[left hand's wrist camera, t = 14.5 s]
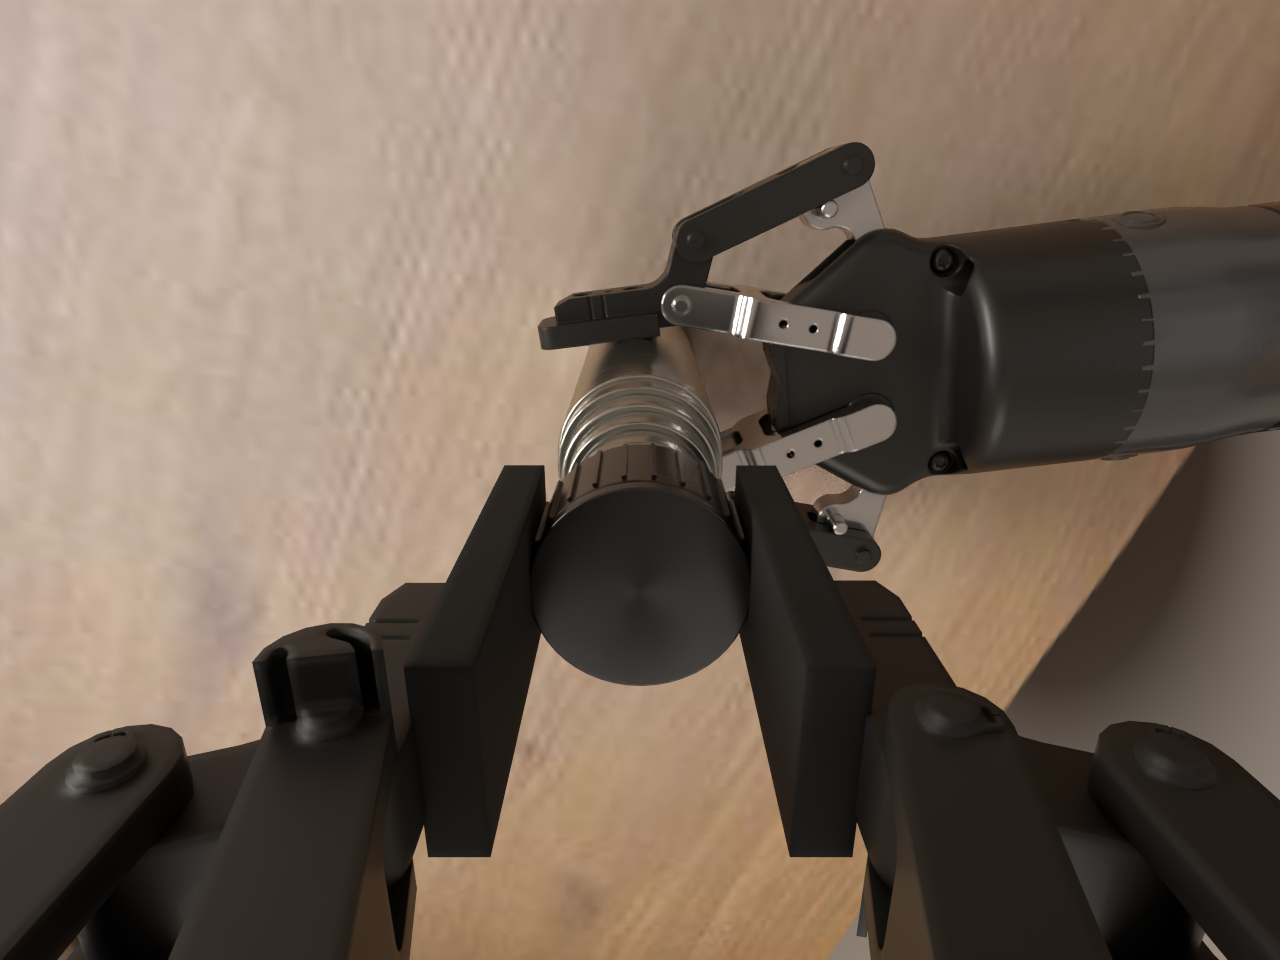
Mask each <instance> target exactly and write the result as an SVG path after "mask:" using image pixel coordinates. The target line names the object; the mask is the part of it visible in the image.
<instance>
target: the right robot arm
mask: <svg viewBox="0 0 1280 960" xmlns="http://www.w3.org/2000/svg"><path fill="white" fill-rule="evenodd" d="M874 167H875V160H874V156H873V153H872V151H871V150H870V149H869V148H868V147H867V146H866V145H864V144H862V143H858V142H853V143H848V144H843V145H839V146H835V147H832V148H828V149H826V150H824V151H822V152H820V153H817V154H815V155H813V156H811V157H809V158H807V159H805V160H803V161H801V162H799V163H797V164H795V165H793V166H791V167H789V168H786V169H784V170H782V171H780V172H778V173H776V174H774V175H772V176H770V177H768V178H766V179H764V180H762V181H760V182H757V183H755V184H753V185H751V186H749V187H747V188H745V189H743V190H741V191H739V192H737V193H735V194H733V195H731V196H729V197H726V198H724V199H722V200H720V201H718V202H716V203H714V204H712V205H710V206H708V207H706V208H704V209H702V210H700V211H698V212H695V213H693V214H691V215H689V216H687V217H685V218H683V219H681V220H680V221H679V222H678V223H677V224H676V225H675V227H674V229H673V233H672V245H671V249H670V254H669V258H668V262H667V266H666V269H665V271H664V272H663V274H662V275H661V276H660V277H659V278H658V279H657V280H655V281H654V282H652V283H649V284H643V285H635V286H627V287H619V288H612V289H605V290H596V291H588V292H580V293H573V294H571V295H569V296H568V297H566V298H564V299H563V300H561V301H559V302H558V303H557V305H556V306H555V307H554V310H555V317H550V318H546V319H543V320H542V321H541V323H540V324H539V325H538V331H539V337H540V343H541V349H544V350H553V349H561V348H569V347H577V346H585V345H594V344H602V343H610V342H618V341H624V340H630V339H642V338H650V337H658V336H660V328H664V327H672V326H682V327H688V328H694V329H701V330H707V331H713V332H719V333H725V334H731V335H735V336H737V337H740V338H743V339H748V340H753V341H759V342H763V350H764V353H765V356H766V359H767V361H768V364H769V367H770V370H771V376H770V381H769V385H768V390H767V395H766V396H767V409H765V410H762V411H760V412H757V413H755V414H752V415H750V416H747V417H745V418H743V419H741V420H739V421H738V422H737V423H736V424H735V425H734V426H733V427H731V428H729V429H727V430H725V431H722V432H720V435H721V441H722V458H723V470H722V477H721V480H722V482H723V485H724V489H725V491H726V493H727V495H728V497H729V499H730V500H732V499H733V500H735V491H731V490H734V489H735V479H736V465H776V467H777V469H778V471H779V473H780V475H781V477H784V476H786V475H789V474H791V473H794V472H796V471H799V470H802V469H804V468H807V467H809V466H812V465H814V464H815V465H817V466H819V467H821V468H823V469H825V470H827V471H828V472H830V473H832V474H834V475H836V476H838V477H839V478H841V479H843V480H845V481H847V482H849V483H850V484H852V485H851V487H850V488H849V489H848V490H846V491H845V492H843V493H840V494H826V495H823V496H821V497H820V498H818V499H817V500H816V501H815V503H814V504H813V505H809V504H804V503H798V502H795V504H796V506H797V508H798V510H799V512H800V514H801V516H802V518H803V520H804V522H805V524H806V526H807V528H808V530H809V532H810V534H811V536H812V538H813V540H814V542H815V544H816V546H817V548H818V550H819V552H820V554H821V556H822V558H823V560H824V562H825V564H826V566H828V567H834V568H840V569H846V570H852V571H858V572H864V571H868V570H871V569H872V568H874V567H875V566H876V565H877V564H878V562H879V561H880V558H881V550H880V548H879V546H878V545H877V543H876V542H875V540H874V538H873V537H874V533H875V530H876V527H877V524H878V521H879V518H880V515H881V512H882V509H883V505H884V502H885V499H886V496H887V495H890V494H894V493H897V492H899V491H901V490H903V489H904V488H906V487H907V486H909V485H910V484H912V483H914V482H916V481H918V480H920V479H922V478H925V477H928V476H933V475H955V474H971V473H980V472H988V471H997V470H1006V469H1014V468H1023V467H1032V466H1040V465H1049V464H1057V463H1067V462H1076V461H1084V460H1093V459H1101V460H1122V459H1128V458H1129V457H1133V456H1137V455H1138V454H1144V453H1153V452H1162V451H1169V450H1176V449H1182V448H1187V447H1191V446H1196V445H1200V444H1204V443H1209V442H1212V441H1216V440H1220V439H1224V438H1227V437H1232V436H1236V435H1242V434H1249V433H1254V432H1263V431H1272V430H1280V202H1272V203H1265V204H1257V205H1249V206H1241V207H1228V208H1213V207H1175V208H1161V209H1151V210H1143V211H1129V212H1124V213H1121V214H1113V215H1106V216H1098V217H1091V218H1083V219H1073V220H1065V221H1057V222H1049V223H1042V224H1034V225H1026V226H1019V227H1011V228H1003V229H995V230H988V231H980V232H972V233H964V234H957V235H949V236H941V237H933V238H915V237H912V236H909V235H907V234H905V233H903V232H901V231H898V230H895V229H886V228H885V227H884V224H883V221H882V218H881V215H880V212H879V209H878V206H877V203H876V200H875V197H874V194H873V190H872V187H871V184H870V181H869V179H870V178H871V176H872V174H873V171H874ZM797 216H799V219H800V220H801V222H802V223H803V224H804V225H805V226H807V227H809V228H812V229H817V230H827V229H830V228H835V227H837V228H839V229H841V230H842V231H843V232H844V233H845V234H846V236H847V238H848V239H847V240H846V241H845V242H844V243H843V244H842V245H841V246H839V247H838V248H837V249H836V250H835V251H834V252H833V253H832V254H831V255H829V256H828V257H827V258H826V259H825V260H824V261H823V262H822V263H821V264H819V265H818V266H817V267H816V268H815V269H814V270H813V271H812V272H811V273H809V274H808V275H807V276H806V277H805V278H804V279H803V280H802V281H800V282H799V283H798V284H797V285H796V286H795V287H794V288H793V289H792V290H790V291H789V292H788V293H784V292H778V291H772V290H766V289H760V288H754V287H748V286H741V285H727V284H721V283H715V282H709V281H707V278H708V274H709V270H710V266H711V262H712V258H713V256H715V255H717V254H719V253H721V252H723V251H725V250H727V249H730V248H732V247H734V246H736V245H738V244H740V243H742V242H744V241H747V240H749V239H751V238H753V237H755V236H757V235H759V234H761V233H763V232H766V231H768V230H770V229H772V228H774V227H776V226H778V225H780V224H783V223H785V222H787V221H789V220H791V219H793V218H795V217H797ZM772 426H773V427H772ZM789 451H791V452H790V453H788V452H789Z"/></svg>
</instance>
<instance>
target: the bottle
mask: <svg viewBox="0 0 1280 960" xmlns="http://www.w3.org/2000/svg"><path fill="white" fill-rule="evenodd" d="M624 443H628V445H632V444H649V445H650V443H655V445H657V446H663V447H667V448H670V449H673V450H677V449H680V450H681V453H683V454H686V455H688V456H690V457H691V458H693V459H695V460H696V461H698V462H700V461H702V462H703V463H704V465H705V467H706V468H707V469H708V470H709V471H710V472H711V473H712V474H713V475H714V476H715V477H716V478H717V479H719V478H720V479H721V477H722V470H723V458H722V441H721V435H720V432H719V428H718V425H717V422H716V419H715V416H714V413H713V410H712V407H711V404H710V401H709V398H708V395H707V392H706V389H705V386H704V383H703V380H702V377H701V375H700V372H699V369H698V366H697V363H696V360H695V357H694V354H693V351H692V348H691V345H690V342H689V339H688V337H687V335H686V333H685V331H684V329H683V328H682V326H672V327H664V328H660V336H658V337H650V338H642V339H630V340H624V341H618V342H610V343H602V344H594V345H590V347H589V350H588V353H587V356H586V359H585V362H584V365H583V368H582V371H581V374H580V377H579V380H578V383H577V385H576V388H575V391H574V394H573V397H572V400H571V403H570V406H569V409H568V412H567V415H566V418H565V421H564V424H563V427H562V430H561V434H560V439H559V446H558V472H559V479H560V481H562V480H563V479H564V478H565V477H566V476H567V475H568V473H569V472H570V471H572V470H573V469H574V465H575V464H576V463H577V462H578V463H579V464H580V463H581V462H583V461H584V460H586V459H588V458H589V457H591V456H593V455H595V454H597V451H599V450H602V451H604V450H607V449H610V448H614V447H618V446H623V444H624Z"/></svg>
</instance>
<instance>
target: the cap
mask: <svg viewBox="0 0 1280 960" xmlns="http://www.w3.org/2000/svg"><path fill="white" fill-rule="evenodd" d="M743 542H746V538H745V535H744V532H743V528H742V525H741V522H740V519H739V516H738V512H737V509H736V506H735V503H734V500H733V499H732V500H730V499H729V497H728V495H727V493H726V491H725V489H724V485H723V482H722V480H721V479H720V478H719V479H717V478H716V477H715V476H714V475H713V474H712V473H711V472H710V471H709V470H708V469H707V468H706V467H705V465H704V463H703V462H702V461H700V462H698V461H696V460H695V459H693V458H691V457H690V456H688V455H686V454H683V453H681V450H680V449H677V450H673V449H670V448H667V447H663V446H657V445H655V443H650V445H649V444H632V445H628V443H624V444H623V446H618V447H614V448H610V449H607V450H604V451H602V450H599V451H597V454H595V455H593V456H591V457H589V458H588V459H586V460H584V461H583V462H581V463H580V464H579V463H578V462H577V463H576V464H575V465H574V469H573V470H572V471H570V472H569V473H568V475H567V476H566V477H565V478H564V479H563V480H562V481H560V480H559V481H558V482H557V485H556V488H555V492H554V494H553V496H552V498H551V500H550V502H546V504H545V507H544V511H543V514H542V517H541V521H540V524H539V527H538V530H537V534H536V537H535V540H534V544H536V545H537V546H536V550H535V553H534V556H533V560H532V563H531V567H530V592H531V608H532V612H533V616H534V619H535V621H536V623H537V625H538V627H539V629H540V631H541V633H542V634H543V636H544V637H545V639H546V640H547V642H548V643H549V644H550V645H551V647H552V648H553V649H554V650H555V651H556V652H557V653H558V654H559V655H560V656H561V657H562V658H563V659H565V660H566V661H567V662H569V663H570V664H571V665H573V666H574V667H576V668H577V669H579V670H581V671H583V672H585V673H587V674H588V675H591V676H594V677H596V678H599V679H601V680H605V681H608V682H612V683H617V684H623V685H634V686H647V685H658V684H664V683H669V682H673V681H676V680H679V679H683V678H685V677H687V676H690V675H692V674H694V673H696V672H698V671H700V670H702V669H703V668H705V667H707V666H708V665H709V664H711V663H712V662H714V661H715V660H716V659H718V658H719V657H720V656H721V655H722V654H723V653H724V652H725V651H726V650H727V649H728V648H729V646H730V645H731V644H732V643H733V641H734V640H735V639H736V637H737V636H738V634H739V632H740V631H741V629H742V627H743V625H744V623H745V620H746V618H747V616H748V612H749V600H750V582H751V568H750V563H749V560H748V557H747V553H746V550H745V546H744V543H743Z"/></svg>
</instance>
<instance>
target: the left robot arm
mask: <svg viewBox="0 0 1280 960" xmlns="http://www.w3.org/2000/svg"><path fill="white" fill-rule="evenodd" d="M734 503H735V506H736V509H737V512H738V516H739V519H740V522H741V525H742V528H743V532H744V535H745V538H746V542H743V543H744V546H745V550H746V553H747V557H748V560H749V563H750V568H751V582H750V600H749V612H748V616H747V618H746V620H745V623H744V625H743V627H742V629H741V631H740V632H739V633H740V638H741V642H742V647H743V651H744V656H745V660H746V664H747V669H748V673H749V678H750V682H751V687H752V691H753V695H754V700H755V704H756V709H757V713H758V718H759V722H760V726H761V731H762V735H763V740H764V744H765V749H766V753H767V757H768V762H769V766H770V771H771V775H772V780H773V784H774V788H775V793H776V797H777V802H778V806H779V811H780V815H781V819H782V824H783V828H784V833H785V837H786V842H787V846H788V850H789V855H790V857H852V855H853V847H854V840H855V832H856V824H857V823H858V826H859V829H860V832H861V835H862V838H863V841H864V843H865V846H866V849H867V852H868V858H867V865H866V872H865V879H864V886H863V894H862V901H861V908H860V915H859V922H858V929H857V936H861V937H867V931H868V937H869V947H870V956H871V960H1219V959H1218V958H1217V957H1216V956H1215V955H1214V954H1213V953H1212V952H1211V951H1210V949H1209V948H1208V947H1207V946H1206V944H1205V943H1204V942H1203V941H1202V939H1203V936H1204V933H1206V934H1207V935H1208V937H1209V938H1210V939H1211V940H1212V941H1213V943H1214V944H1215V945H1216V946H1217V947H1218V949H1219V950H1220V951H1221V952H1222V953H1223V955H1224V956H1225V957H1226V958H1227V960H1280V800H1279V799H1278V798H1277V797H1276V796H1274V795H1273V794H1272V793H1271V792H1270V791H1269V790H1268V789H1267V788H1265V787H1264V786H1263V785H1262V784H1261V783H1260V782H1259V781H1257V780H1256V779H1255V778H1254V777H1253V776H1252V775H1251V774H1249V773H1248V772H1247V771H1246V770H1245V769H1244V768H1243V767H1242V766H1240V765H1239V764H1238V763H1237V762H1236V761H1235V760H1233V759H1232V758H1230V757H1229V756H1228V755H1226V754H1225V753H1223V752H1222V751H1221V750H1219V749H1218V748H1216V747H1215V746H1213V745H1212V744H1210V743H1208V742H1206V741H1204V740H1202V739H1199V738H1197V737H1195V736H1193V735H1191V734H1189V733H1187V732H1185V731H1182V730H1179V729H1176V728H1173V727H1168V726H1165V725H1161V724H1157V723H1148V722H1136V721H1127V722H1122V723H1117V724H1112V725H1109V726H1108V727H1107V728H1106V729H1105V730H1104V731H1103V732H1101V733H1100V734H1099V738H1098V742H1097V746H1096V749H1095V753H1090V752H1085V751H1080V750H1076V749H1071V748H1066V747H1061V746H1057V745H1052V744H1047V743H1042V742H1039V741H1035V740H1031V739H1028V738H1024V737H1021V736H1019V735H1018V734H1017V732H1016V729H1015V727H1014V725H1013V724H1012V722H1011V721H1010V719H1009V718H1008V717H1007V715H1006V714H1005V713H1004V711H1003V710H1001V709H1000V708H999V707H997V706H996V705H995V704H993V703H992V702H990V701H989V700H988V699H986V698H985V697H983V696H980V695H978V694H976V693H973V692H971V691H969V690H966V689H964V688H960V687H957V686H956V685H955V683H954V682H953V680H952V679H951V677H950V675H949V674H948V672H947V671H946V669H945V668H944V666H943V665H942V663H941V661H940V660H939V658H938V657H937V655H936V654H935V652H934V651H933V649H932V647H931V646H930V644H929V643H928V641H927V640H926V638H925V637H922V632H921V630H920V629H919V627H918V626H917V624H916V623H915V621H912V616H911V615H910V613H909V612H908V610H907V609H906V607H905V606H904V604H903V602H902V601H901V599H900V598H899V597H898V596H897V595H895V594H894V593H892V592H891V591H889V590H888V589H886V588H885V587H884V586H882V585H881V584H879V583H878V582H876V581H834V580H833V578H832V576H831V574H830V572H829V570H828V568H827V566H826V564H825V562H824V560H823V558H822V556H821V554H820V552H819V550H818V548H817V546H816V544H815V542H814V540H813V538H812V536H811V534H810V532H809V530H808V528H807V526H806V524H805V522H804V520H803V518H802V516H801V514H800V512H799V510H798V508H797V506H796V504H795V502H794V500H793V498H792V496H791V494H790V492H789V490H788V488H787V486H786V484H785V483H784V481H783V479H782V477H781V475H780V473H779V471H778V469H777V467H776V465H736V479H735V500H734ZM545 504H546V491H545V470H544V465H504V467H503V469H502V471H501V473H500V475H499V477H498V479H497V481H496V483H495V485H494V487H493V489H492V491H491V493H490V495H489V497H488V499H487V501H486V503H485V505H484V507H483V509H482V511H481V513H480V515H479V517H478V519H477V521H476V523H475V525H474V527H473V529H472V531H471V533H470V535H469V537H468V539H467V541H466V543H465V545H464V547H463V549H462V551H461V553H460V555H459V557H458V559H457V561H456V563H455V565H454V567H453V569H452V571H451V573H450V575H449V577H448V579H447V581H446V583H405V584H404V585H402V586H401V587H399V588H398V589H396V590H395V591H393V592H392V593H391V594H389V595H388V596H386V597H385V598H383V599H382V600H381V601H380V603H379V605H378V606H377V608H376V609H375V611H374V612H373V614H372V616H371V617H370V619H369V623H366V625H365V627H364V626H361V625H357V624H353V623H330V624H324V625H319V626H313V627H308V628H304V629H302V630H299V631H296V632H294V633H291V634H288V635H286V636H283V637H281V638H280V639H278V640H277V641H275V642H273V643H272V644H270V645H269V646H267V647H266V648H264V649H263V650H262V651H261V653H260V654H259V655H258V656H257V657H256V658H255V660H254V661H253V662H252V663H253V668H254V673H255V678H256V682H257V687H258V692H259V696H260V701H261V706H262V710H263V715H264V720H265V724H266V728H265V730H264V733H263V735H262V737H261V739H260V740H257V741H253V742H250V743H246V744H243V745H239V746H234V747H230V748H225V749H220V750H215V751H211V752H206V753H201V754H196V755H192V756H187V755H186V751H185V747H184V743H183V739H182V737H181V736H180V735H179V734H177V733H176V732H175V731H174V730H173V729H172V728H169V727H164V726H159V725H153V724H148V725H136V726H126V727H122V728H117V729H114V730H112V731H110V730H109V731H106V732H103V733H100V734H97V735H95V736H93V737H91V738H89V739H87V740H85V741H83V742H81V743H79V744H77V745H74V746H72V747H70V748H69V749H67V750H66V751H65V752H63V753H62V754H60V755H59V756H57V757H56V758H55V759H53V760H52V761H50V762H49V763H48V764H46V765H45V766H44V767H43V768H42V769H41V770H40V771H38V772H37V773H36V774H35V775H34V776H33V777H32V778H31V779H29V780H28V781H27V782H26V783H25V784H24V785H23V786H22V787H21V788H19V789H18V790H17V791H16V792H15V793H14V794H13V795H12V796H10V797H9V798H8V799H7V800H6V801H5V802H4V803H3V804H1V805H0V960H409V958H410V948H411V939H412V929H413V920H414V910H415V901H416V891H417V886H416V879H415V872H414V865H413V858H412V857H413V855H414V852H415V849H416V846H417V843H418V840H419V837H420V834H421V831H422V828H423V825H424V828H425V836H426V844H427V851H428V857H491V853H492V848H493V844H494V839H495V835H496V830H497V826H498V821H499V817H500V813H501V808H502V804H503V799H504V795H505V790H506V786H507V782H508V777H509V773H510V768H511V764H512V759H513V755H514V751H515V746H516V742H517V737H518V733H519V728H520V724H521V720H522V715H523V711H524V706H525V702H526V697H527V693H528V689H529V684H530V680H531V675H532V671H533V666H534V662H535V658H536V653H537V649H538V644H539V640H540V635H541V631H540V629H539V627H538V625H537V623H536V621H535V619H534V616H533V612H532V608H531V592H530V567H531V563H532V560H533V556H534V553H535V550H536V546H537V545H536V544H534V540H535V537H536V534H537V530H538V527H539V524H540V521H541V517H542V514H543V511H544V507H545ZM76 937H78V938H76Z"/></svg>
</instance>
